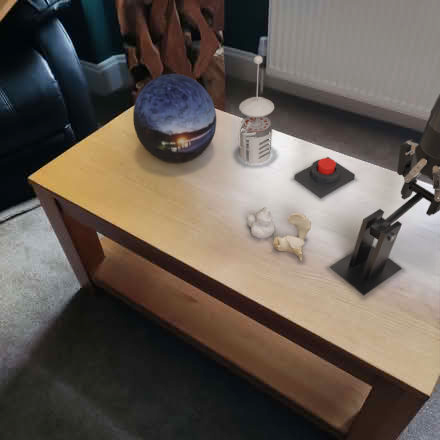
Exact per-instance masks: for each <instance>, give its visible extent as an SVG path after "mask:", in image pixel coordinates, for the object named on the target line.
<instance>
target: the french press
mask: <svg viewBox="0 0 440 440" xmlns="http://www.w3.org/2000/svg"><path fill="white" fill-rule="evenodd" d="M253 63H254V64H257V71H256V72H257V73H256V74H257V75H256V77H257V79H256V96H252V97H249V98H246V99H245V100H243V101H242V102H241V103H240V104H239V105H238V106H239V111H240V112H241V114H242V115H245V116H246V117H244V118H243V119H242V120H241V121H240V122H241V124H240V126H239V129H238V134H237V143H238V146H239V156H240V158H241V160H242V161H243V162H246V163H248V164H250V165H251V164H252V165H259V164H263V163H265V162H267V161H268V160H269V159H270V158H271V154H272V153H271V152H272V151H271V150H272V137H273V126H272V121H271V119H270V118H269V117H267V116H268V115H270V114H271V113H272V112H273V111H274V109H275V104H274V103H273V101H271V100H269V99H268V98H265V97H263V96H259V95H258V94H259V72H260V71H259V69H260V68H259V67H260V66H259V65H260V64H262V63H263V57H262V56H261V55H256V56H254V58H253ZM243 129H244V130H243ZM254 133H255V134H254ZM247 134H248V135H247Z"/></svg>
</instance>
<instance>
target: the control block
mask: <svg viewBox="0 0 440 440" xmlns="http://www.w3.org/2000/svg"><path fill="white" fill-rule="evenodd" d="M326 158H329V159H332V158H331V157H329V156H327V157H326ZM319 160H320V159H318V160H317V159H316V160H315V161H314V162H312V164H311V165H310V166H308V167H306V168H304V169H303V170H301V171H298V172H297V173H295V174H294V178H293V179H294V181H295V182H297V183H299V184H300V185H301V186H303V187H304V188H305V189H306V190H308V191H310V192H311V194H313V195H315V196H316V197H317V198H319V199H320V200H321V199H323V198H325V197H327V196H328V195H330V194H331V193H333V192H335V191H337V190H338V189H341V188H342V187H343V186H345V185H348V184H349V183H350V182H353V181H354V180H355V177H356V174H355V173H354V172H352V171H350V170H349V169H347V168H346V167H345V166H343V165H342V164H339V162H337V161H335V163H336V166H335V171H334V172H333V173H332V174H327V175H326V174H321V173H320V172H318V170H317V167H318V162H319Z"/></svg>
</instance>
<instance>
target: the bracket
mask: <svg viewBox="0 0 440 440" xmlns="http://www.w3.org/2000/svg"><path fill="white" fill-rule="evenodd" d="M384 214H385V211H384V210H383V209H381V208H379V209H377V210H376V211H374V212H372V213H371V214H369V215H367V216H366V217H364V218H363V219H362V222H361V225H360V229H359V232H358V234H357V237H356V241H355V245H354V247H353V250H352V252H351V253H349V254H348V255H346V256H345V257H343V258H342V259H340V260H339V261H337V262H335V263H334V264H332V265H331V266H329V269H330V270H331V271H333V272H334V273H335V274H336V275H337V276H339V277H340V278H341V279H342V280H343V281H345V282H346V283H347V284H348V285H350V286H351V287H352V289H355V291H356V292H358V293H359V294H361V295H362V296H363V297H365V296H366V295H367V294H369V293H370V292H372V291H373V290H375V289H376V288H377V287H379V286H380V285H381V284H383V283H385V282H386V281H387V280H388V279H390V278H391V277H393V276H394V275H396V274H397V273H398V272H400V271H401V270H403V268H402V267H401V266H400V265H399V264H397V263H396V262H395V261H393V260H392V259H391V258H389V257H390V254H391V252H392V250H393V247H394V245H395V242H396V240H397V237H398V235H399V233H400V230H401V227H402V225H403V223H401V222H400V221H398V220H396V221H395V222H394V223H392V224H391V226H389V227H388V228H386V229H384V230H383V231H381V233H380V236H379V238H378V240H377V241H376V243H375V247H374V246H373V244H374V242H375V239H376V238H374V237H373V236H372V235H370V234H369V233H370V226H371V225H372V224H373V223H375V222H376V221H377V220H378V219H380V218H381V217H382V218H383V217H384Z"/></svg>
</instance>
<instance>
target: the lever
mask: <svg viewBox="0 0 440 440" xmlns="http://www.w3.org/2000/svg"><path fill="white" fill-rule="evenodd" d="M410 190H412V191H413V192H412V193H415V194H414V195H413V196H412V197H411V198H408V200H407V201H405V202H404V203H403V204H402V205H401V206H399V207H398V208H397V209H396V210H394V212H392V213H391V214H390V215H389V216H388V217H386V218H384V217H383V216H382V217H381V218H380V219H378V220H377V221H376V222H375V223H373V224H372V225H371V226H370V233H369V234H370V235H372V236H373V237H374V238H375V239H376V240H377V241H378V238H379V236H380V233H381V231H383V230H384V229H386V228H388V227H389V226H391V225H392V224H394V223H395V222H397V221H398V220H399V219H400V218H401V217H402V216H403V215H405V214H406V213H407V212H408V211H409V210H411V209H412V208H413V207H414V206H416V205H417V204H418V203H419V202H420V201H421V200H423V199H425V200H426V201H427V202H429V203H431V201H432V199H434V193H432V192H431V191H429V190H428V189H426V188H424V187H423V186H421V185H420V184H418V183H413V184H412V185H411V186H410Z"/></svg>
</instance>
